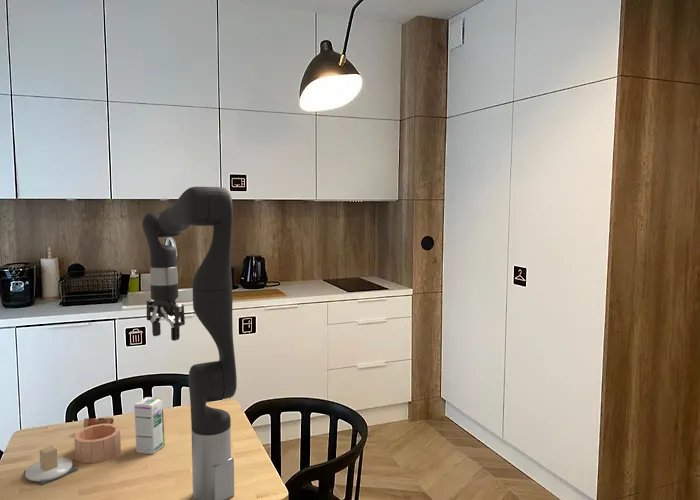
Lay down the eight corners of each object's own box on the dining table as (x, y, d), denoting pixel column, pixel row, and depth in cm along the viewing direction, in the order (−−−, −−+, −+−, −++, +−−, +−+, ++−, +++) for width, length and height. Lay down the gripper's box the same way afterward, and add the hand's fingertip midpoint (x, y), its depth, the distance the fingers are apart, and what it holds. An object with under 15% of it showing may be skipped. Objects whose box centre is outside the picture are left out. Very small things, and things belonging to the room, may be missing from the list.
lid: (80, 468, 141) (79, 447, 140) (37, 485, 132) (35, 463, 131) (60, 456, 147) (59, 436, 146) (17, 472, 138) (16, 451, 138)
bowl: (128, 450, 152) (128, 430, 151) (89, 467, 143) (88, 445, 142) (106, 439, 159) (105, 420, 158) (67, 454, 149) (66, 434, 149)
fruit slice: (80, 438, 160) (79, 422, 159) (90, 428, 166) (89, 413, 166) (108, 437, 160) (107, 422, 159) (117, 428, 167) (116, 412, 166)
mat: (77, 470, 141) (77, 468, 141) (42, 485, 133) (42, 482, 133) (59, 459, 147) (59, 457, 146) (24, 472, 139) (24, 470, 139)
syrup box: (154, 454, 150) (152, 405, 148) (135, 452, 151) (133, 403, 149) (165, 445, 155) (163, 397, 154) (146, 443, 156) (145, 396, 155)
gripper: (191, 282, 150) (192, 338, 152) (160, 278, 158) (161, 331, 159) (168, 286, 144) (170, 344, 145) (137, 281, 152) (139, 336, 153)
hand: (165, 337), depth 152 cm, fingers open, 8 cm apart
